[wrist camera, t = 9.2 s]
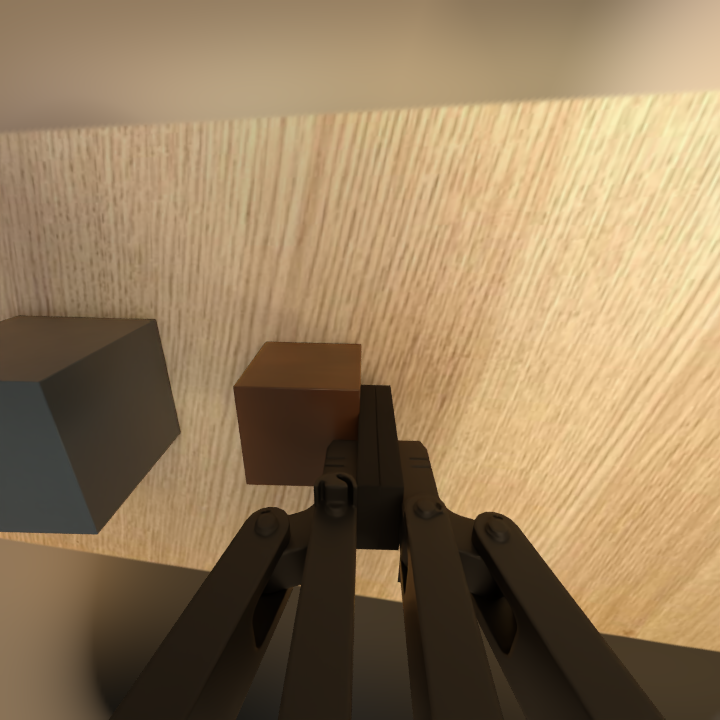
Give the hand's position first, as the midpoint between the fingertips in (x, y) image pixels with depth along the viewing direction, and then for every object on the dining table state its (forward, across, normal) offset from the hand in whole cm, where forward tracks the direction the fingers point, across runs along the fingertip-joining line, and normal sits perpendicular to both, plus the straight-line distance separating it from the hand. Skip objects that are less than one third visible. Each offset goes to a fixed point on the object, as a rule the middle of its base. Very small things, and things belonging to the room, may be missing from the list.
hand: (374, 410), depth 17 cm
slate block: (+2, -15, 0) cm, 15 cm away
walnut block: (+3, -3, 0) cm, 4 cm away
